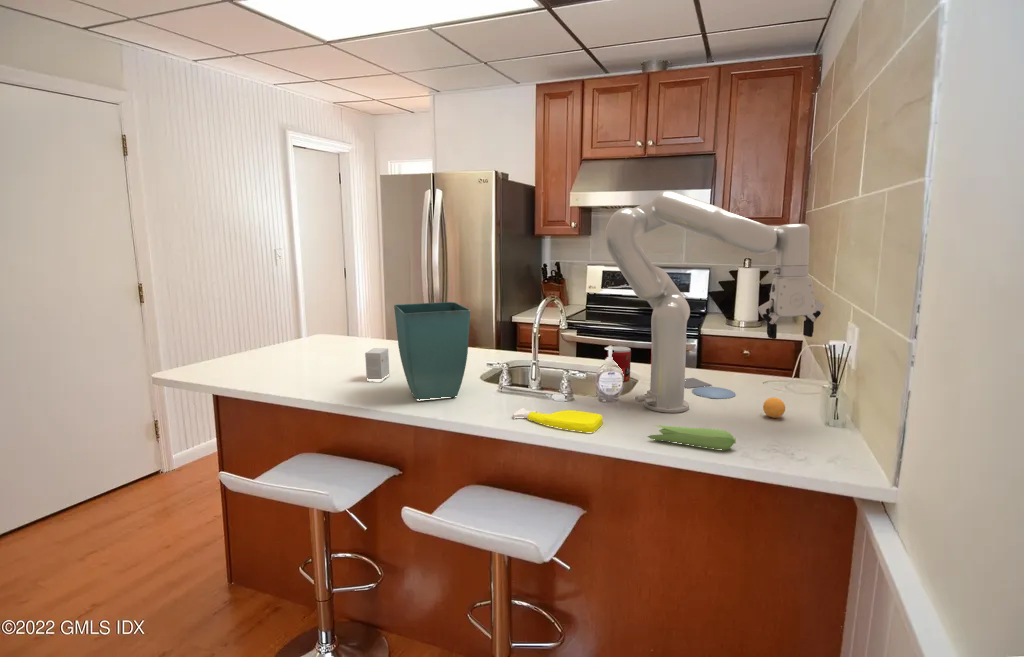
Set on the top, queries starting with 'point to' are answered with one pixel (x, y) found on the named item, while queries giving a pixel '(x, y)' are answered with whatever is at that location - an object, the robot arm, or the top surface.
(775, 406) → the ball
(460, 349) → the flower pot
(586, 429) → the spray bottle
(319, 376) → the top surface
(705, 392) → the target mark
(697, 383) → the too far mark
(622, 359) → the canned food
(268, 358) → the top surface
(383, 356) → the small box
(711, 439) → the edible corn
